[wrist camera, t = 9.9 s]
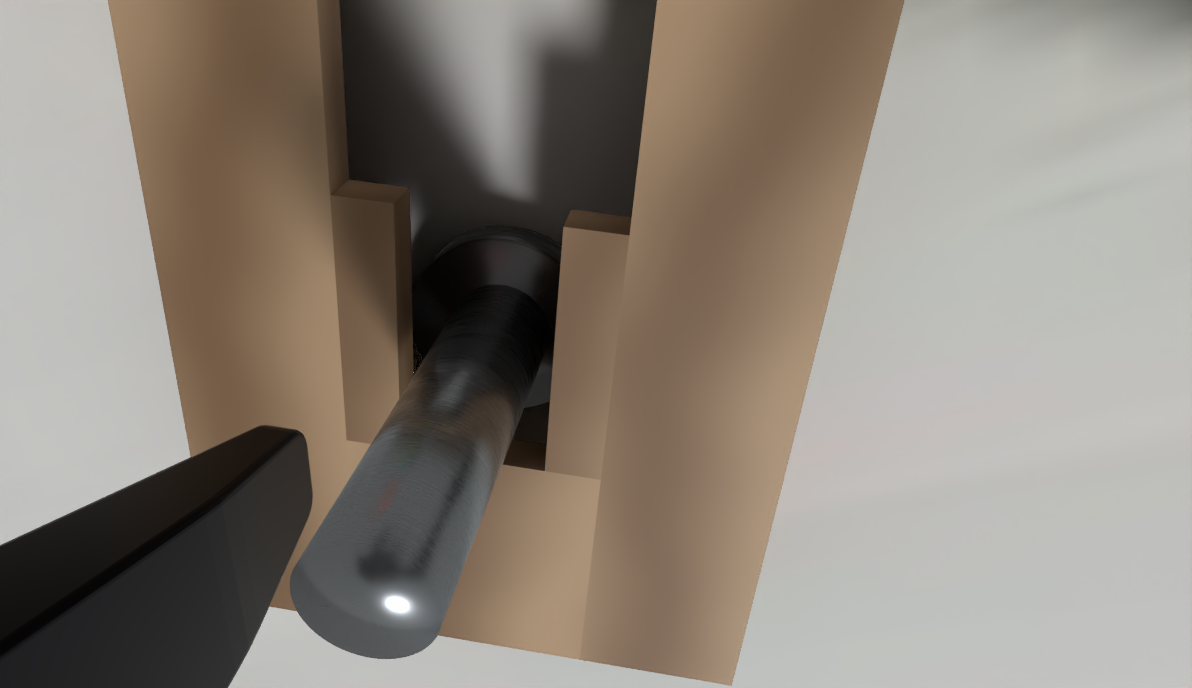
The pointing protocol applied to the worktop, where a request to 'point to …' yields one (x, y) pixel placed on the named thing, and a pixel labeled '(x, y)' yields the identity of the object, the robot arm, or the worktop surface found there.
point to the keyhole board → (584, 310)
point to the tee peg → (436, 447)
